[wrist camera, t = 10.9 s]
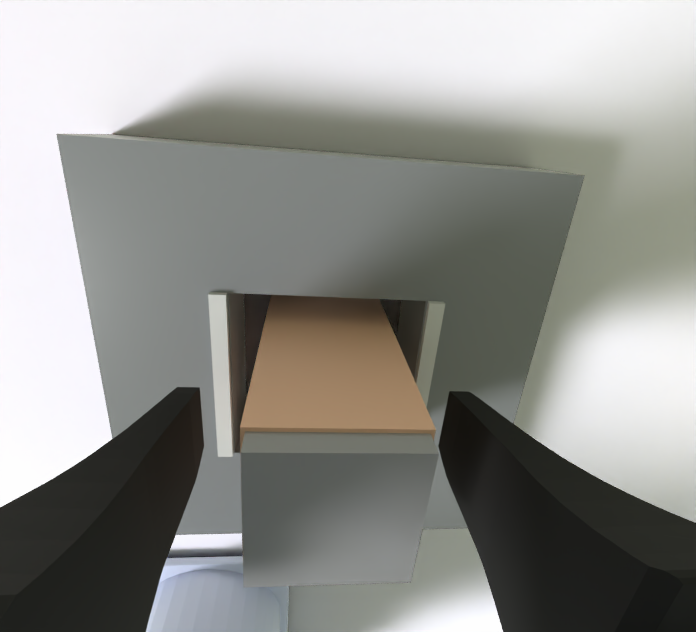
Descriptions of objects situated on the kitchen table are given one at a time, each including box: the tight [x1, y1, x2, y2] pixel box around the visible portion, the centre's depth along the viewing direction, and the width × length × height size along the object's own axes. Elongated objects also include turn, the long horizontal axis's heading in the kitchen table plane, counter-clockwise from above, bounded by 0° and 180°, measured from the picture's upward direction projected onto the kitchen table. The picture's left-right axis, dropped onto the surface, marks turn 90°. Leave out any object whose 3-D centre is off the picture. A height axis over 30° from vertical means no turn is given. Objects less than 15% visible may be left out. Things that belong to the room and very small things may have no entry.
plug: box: [240, 295, 439, 588], centre depth 13 cm, size 4×4×9 cm
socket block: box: [57, 134, 584, 535], centre depth 15 cm, size 14×14×3 cm
